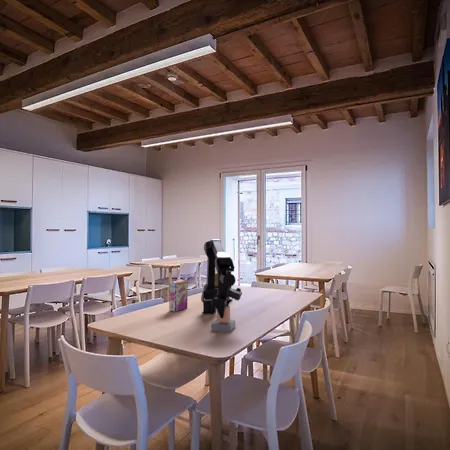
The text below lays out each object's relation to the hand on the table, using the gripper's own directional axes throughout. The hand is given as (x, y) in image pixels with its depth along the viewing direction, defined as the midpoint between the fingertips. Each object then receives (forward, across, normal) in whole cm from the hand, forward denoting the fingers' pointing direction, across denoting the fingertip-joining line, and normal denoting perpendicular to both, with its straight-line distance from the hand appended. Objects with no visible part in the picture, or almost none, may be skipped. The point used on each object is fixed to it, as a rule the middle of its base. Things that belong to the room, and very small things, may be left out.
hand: (223, 316), depth 154 cm
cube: (+2, 0, 0) cm, 2 cm away
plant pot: (+6, +65, +20) cm, 68 cm away
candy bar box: (+6, +28, +35) cm, 45 cm away
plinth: (+6, 0, 0) cm, 6 cm away
